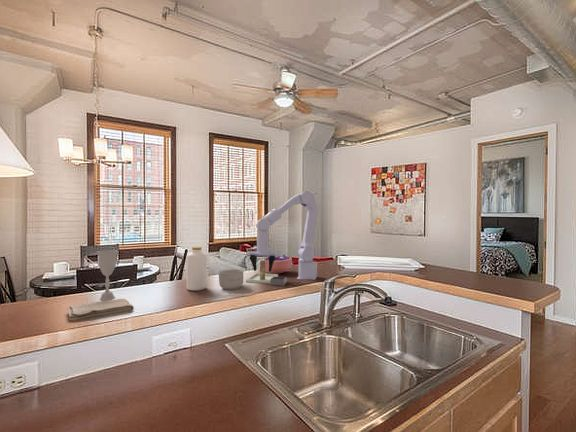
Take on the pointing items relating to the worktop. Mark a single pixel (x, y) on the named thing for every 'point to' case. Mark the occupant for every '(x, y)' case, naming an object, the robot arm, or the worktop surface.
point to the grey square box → (278, 281)
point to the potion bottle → (196, 269)
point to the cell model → (278, 264)
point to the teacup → (231, 278)
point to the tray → (256, 278)
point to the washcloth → (98, 309)
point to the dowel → (262, 270)
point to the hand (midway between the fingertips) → (262, 271)
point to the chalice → (107, 269)
